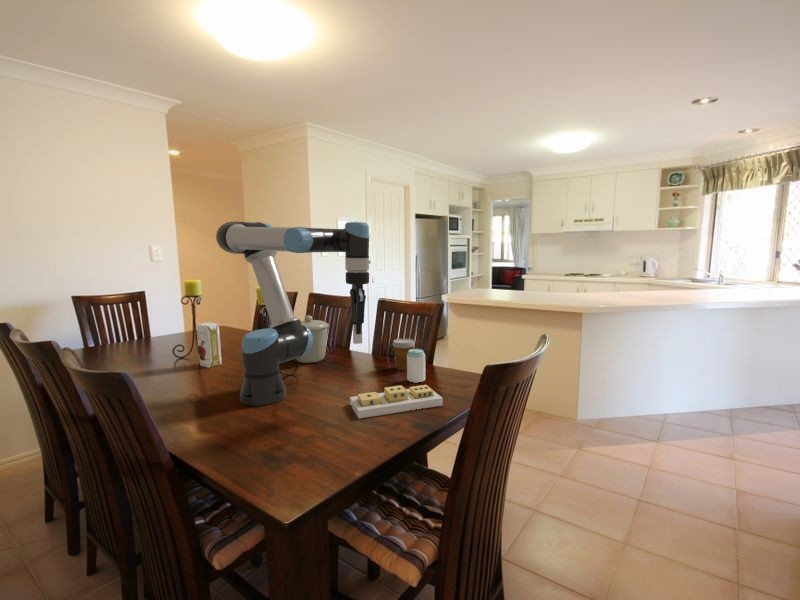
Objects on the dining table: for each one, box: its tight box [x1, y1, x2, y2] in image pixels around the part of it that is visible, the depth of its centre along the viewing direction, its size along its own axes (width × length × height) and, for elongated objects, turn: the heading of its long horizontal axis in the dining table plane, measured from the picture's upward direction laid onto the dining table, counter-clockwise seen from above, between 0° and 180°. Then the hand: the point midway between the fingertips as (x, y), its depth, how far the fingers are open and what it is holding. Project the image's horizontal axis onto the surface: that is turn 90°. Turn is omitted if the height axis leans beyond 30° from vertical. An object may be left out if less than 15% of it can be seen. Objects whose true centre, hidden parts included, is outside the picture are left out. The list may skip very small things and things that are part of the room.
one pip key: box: [357, 391, 381, 407], centre depth 128 cm, size 6×6×4 cm
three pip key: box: [409, 384, 434, 399], centre depth 134 cm, size 6×6×4 cm
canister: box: [295, 314, 330, 364], centre depth 185 cm, size 18×18×21 cm
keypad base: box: [349, 388, 444, 420], centre depth 132 cm, size 28×12×2 cm, turn 109°
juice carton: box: [196, 321, 222, 369], centre depth 179 cm, size 8×9×19 cm
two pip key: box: [383, 385, 408, 403], centre depth 131 cm, size 6×6×4 cm
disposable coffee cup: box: [391, 338, 416, 371], centre depth 171 cm, size 10×10×12 cm
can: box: [406, 348, 426, 384], centre depth 155 cm, size 7×7×12 cm
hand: (357, 343), depth 132 cm, fingers closed
